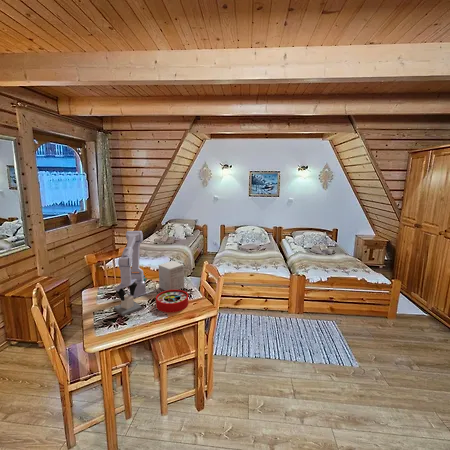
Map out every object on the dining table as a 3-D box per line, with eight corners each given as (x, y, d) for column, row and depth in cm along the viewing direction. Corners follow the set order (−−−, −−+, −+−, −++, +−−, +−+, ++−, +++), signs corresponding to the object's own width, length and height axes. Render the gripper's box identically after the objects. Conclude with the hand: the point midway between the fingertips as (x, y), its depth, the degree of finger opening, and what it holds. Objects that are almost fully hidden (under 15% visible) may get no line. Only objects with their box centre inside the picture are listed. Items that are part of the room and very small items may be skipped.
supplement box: (184, 287, 190) (184, 264, 186) (170, 293, 180) (169, 269, 177) (173, 282, 198) (173, 260, 195) (159, 287, 188) (158, 264, 185)
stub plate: (132, 302, 166) (132, 295, 165) (141, 309, 158) (141, 301, 157) (114, 308, 157) (113, 301, 157) (122, 316, 149) (122, 308, 148)
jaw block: (127, 304, 161) (127, 295, 160) (133, 305, 159) (133, 296, 157) (121, 307, 156) (120, 298, 155) (127, 309, 154) (126, 300, 153)
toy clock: (152, 293, 166) (181, 287, 176) (152, 301, 168) (181, 295, 177) (161, 306, 149) (193, 299, 159) (161, 316, 150) (193, 308, 160)
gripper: (130, 271, 162) (131, 291, 164) (111, 279, 149) (112, 301, 152) (138, 273, 159) (139, 293, 161) (120, 281, 146) (121, 303, 149)
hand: (127, 297), depth 156 cm, fingers open, 7 cm apart
